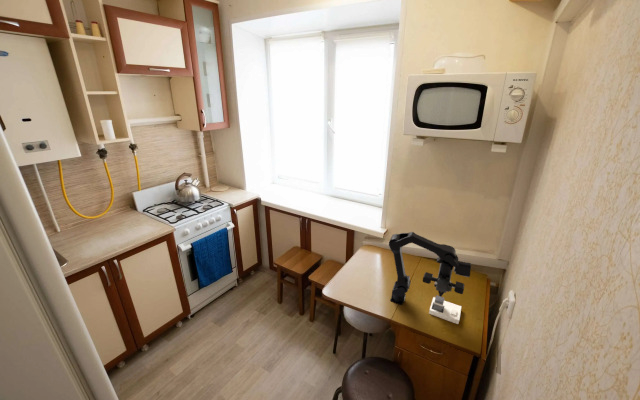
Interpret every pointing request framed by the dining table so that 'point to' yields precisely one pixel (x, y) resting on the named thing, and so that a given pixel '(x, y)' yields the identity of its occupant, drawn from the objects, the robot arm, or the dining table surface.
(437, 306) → the plug
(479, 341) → the dining table surface
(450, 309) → the socket plate
